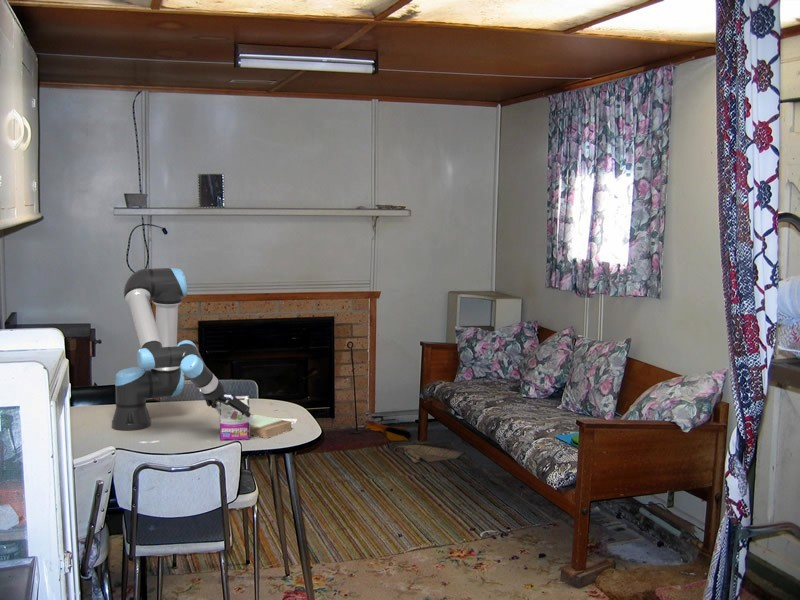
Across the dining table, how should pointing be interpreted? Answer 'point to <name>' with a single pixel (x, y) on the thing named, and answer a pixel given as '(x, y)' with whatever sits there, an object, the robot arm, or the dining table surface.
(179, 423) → the dining table surface
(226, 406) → the candy bar box
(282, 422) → the brown flat block
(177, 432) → the dining table surface
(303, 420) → the dining table surface
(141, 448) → the dining table surface
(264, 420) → the mat
